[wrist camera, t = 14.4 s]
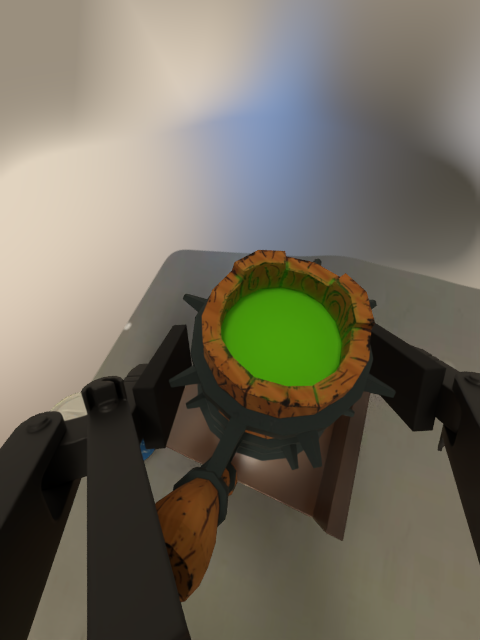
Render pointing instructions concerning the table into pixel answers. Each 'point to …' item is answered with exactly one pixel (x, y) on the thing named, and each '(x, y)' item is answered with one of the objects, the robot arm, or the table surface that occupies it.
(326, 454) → the brown wooden box
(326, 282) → the mug
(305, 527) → the table surface
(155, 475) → the table surface
